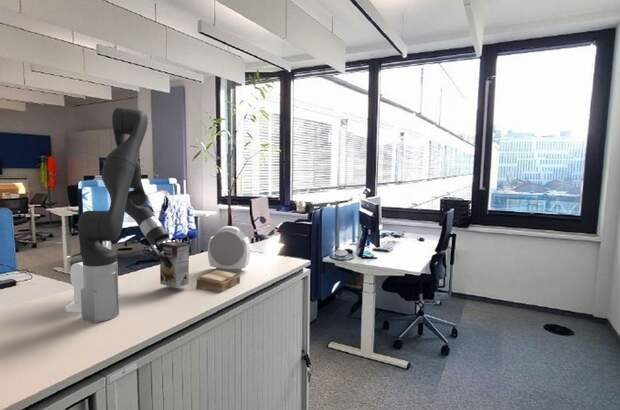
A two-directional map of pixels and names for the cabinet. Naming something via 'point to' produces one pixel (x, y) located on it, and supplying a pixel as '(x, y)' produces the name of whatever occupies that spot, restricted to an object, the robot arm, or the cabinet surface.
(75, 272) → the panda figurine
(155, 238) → the robot arm
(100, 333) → the cabinet surface
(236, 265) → the alarm clock
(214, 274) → the brown flat block
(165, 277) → the coffee box
